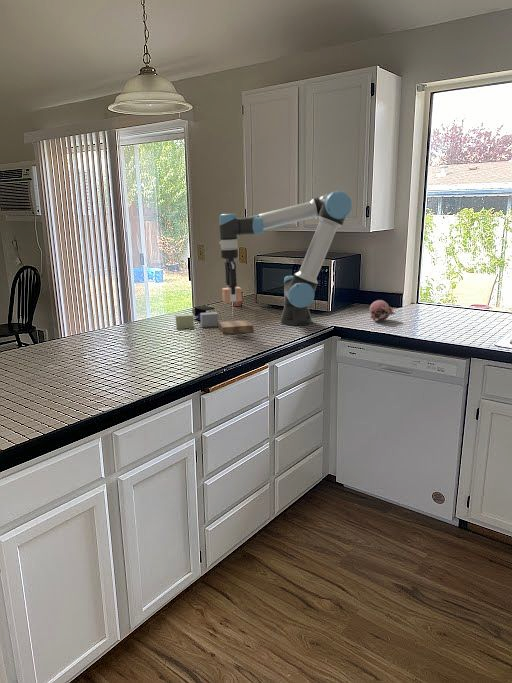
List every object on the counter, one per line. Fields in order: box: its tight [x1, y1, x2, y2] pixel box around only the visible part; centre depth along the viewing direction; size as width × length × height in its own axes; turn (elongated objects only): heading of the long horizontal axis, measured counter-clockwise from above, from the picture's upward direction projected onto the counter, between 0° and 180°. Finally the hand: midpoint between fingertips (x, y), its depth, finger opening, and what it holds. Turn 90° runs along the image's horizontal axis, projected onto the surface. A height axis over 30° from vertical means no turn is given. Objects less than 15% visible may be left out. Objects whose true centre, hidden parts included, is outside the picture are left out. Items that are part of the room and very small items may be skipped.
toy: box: [368, 299, 396, 323], centre depth 254 cm, size 12×11×15 cm
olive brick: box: [174, 313, 195, 330], centre depth 251 cm, size 8×5×6 cm, turn 104°
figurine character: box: [191, 305, 215, 320], centre depth 266 cm, size 7×8×15 cm
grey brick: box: [199, 311, 219, 328], centre depth 254 cm, size 8×5×6 cm, turn 104°
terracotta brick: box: [221, 286, 243, 304], centre depth 239 cm, size 8×5×6 cm, turn 104°
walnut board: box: [217, 319, 254, 335], centre depth 243 cm, size 14×12×3 cm
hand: (232, 300), depth 240 cm, fingers closed on terracotta brick, 5 cm apart
